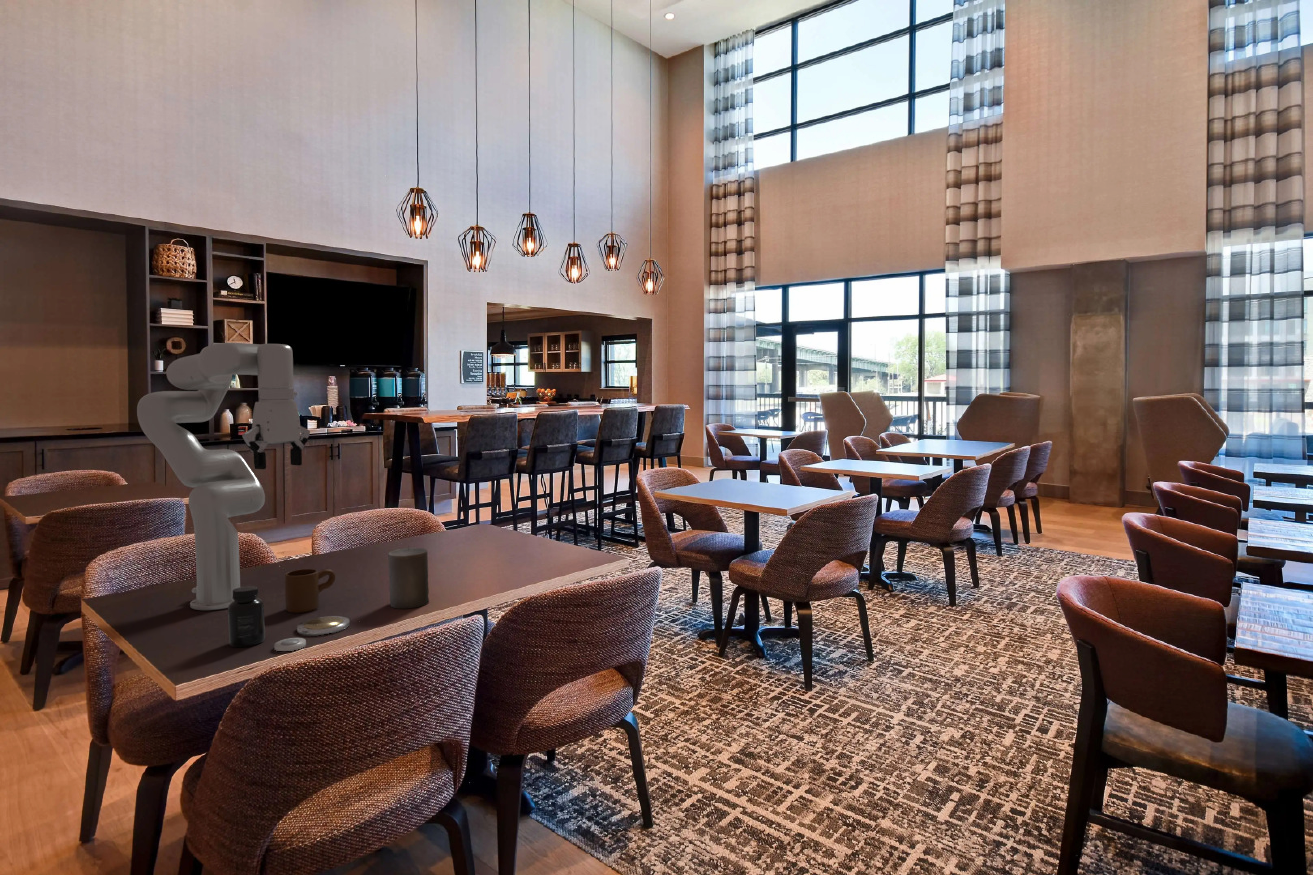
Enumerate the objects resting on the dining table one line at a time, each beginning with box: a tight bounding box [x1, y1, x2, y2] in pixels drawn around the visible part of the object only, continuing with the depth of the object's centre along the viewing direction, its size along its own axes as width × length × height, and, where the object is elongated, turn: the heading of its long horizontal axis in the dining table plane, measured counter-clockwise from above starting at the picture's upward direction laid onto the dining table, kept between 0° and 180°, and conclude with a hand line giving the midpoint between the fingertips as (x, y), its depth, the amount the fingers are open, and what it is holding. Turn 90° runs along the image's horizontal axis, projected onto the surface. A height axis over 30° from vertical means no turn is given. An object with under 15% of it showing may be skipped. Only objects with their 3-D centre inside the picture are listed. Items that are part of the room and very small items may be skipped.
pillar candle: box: [387, 546, 430, 609], centre depth 185 cm, size 10×10×15 cm
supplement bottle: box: [227, 585, 266, 648], centre depth 156 cm, size 7×7×12 cm
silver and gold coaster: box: [296, 615, 350, 637], centre depth 166 cm, size 11×11×1 cm
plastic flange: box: [274, 637, 307, 652], centre depth 153 cm, size 6×6×1 cm
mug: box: [284, 568, 336, 614], centre depth 181 cm, size 12×8×9 cm, turn 134°
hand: (278, 466), depth 172 cm, fingers open, 9 cm apart
